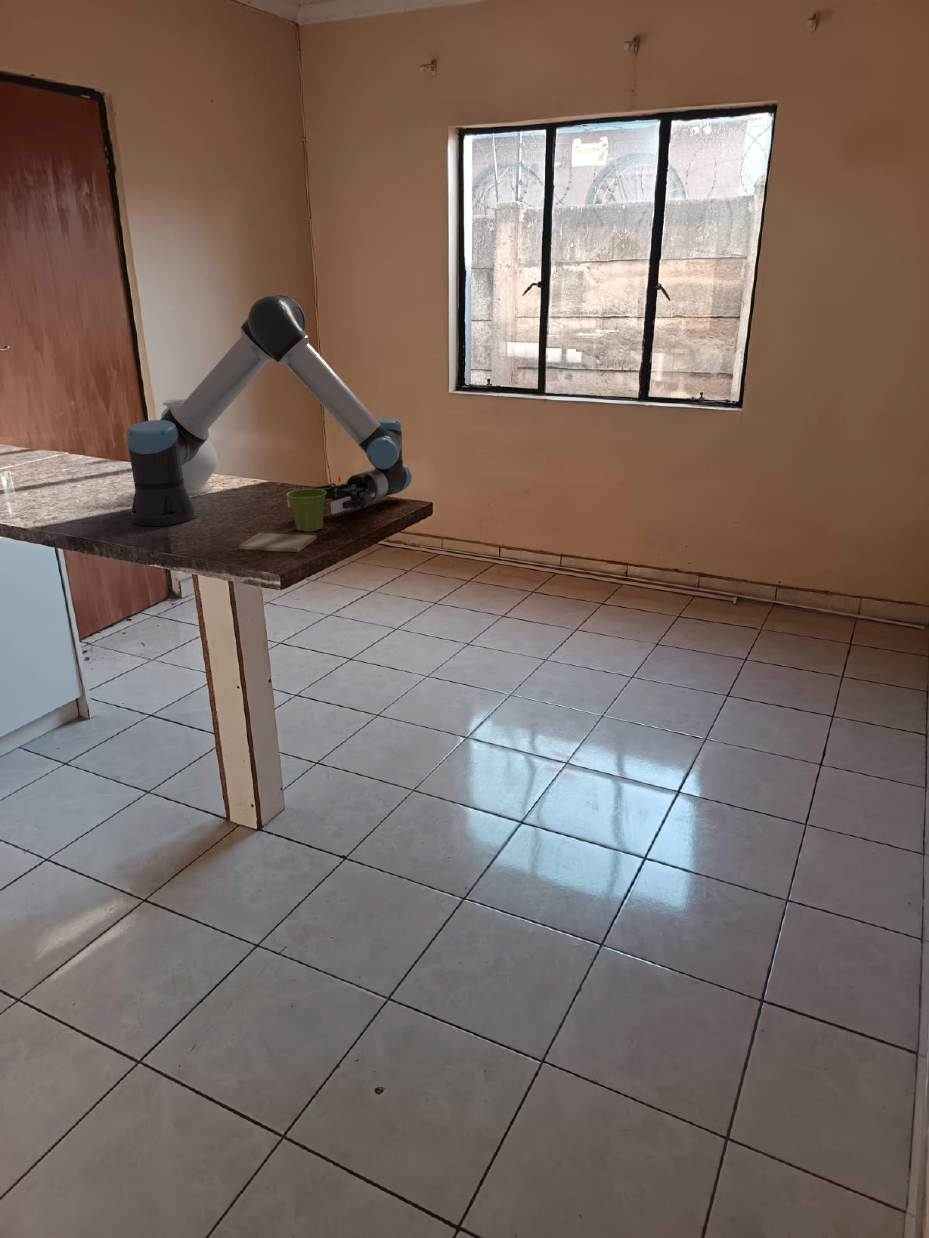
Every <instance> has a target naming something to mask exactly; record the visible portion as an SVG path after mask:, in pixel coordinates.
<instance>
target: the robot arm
mask: <svg viewBox="0 0 929 1238" xmlns="http://www.w3.org/2000/svg"><path fill="white" fill-rule="evenodd" d="M305 330H306V316H305V313H304V311H303V309H302V307H301V305H300V304H299V303H298V302H297V301H295V300H294V299H293V298H291V297H289V296H287V295H282V294H277V295H275V294H274V295H272V296H271V295H268V296H267V295H266V296H264V297H261V298H260V299H258V300H256V301H255V302H254V303H253V305H252V306H251V307H250V310H249V313H248V316H247V319H246V321H244V323H242V325H241V326H240V333H241V334H240V335H241V336H240V337H239V339H238V340H237V341H236V342H235V343H234V345H232V347H231V348H229V350H228V351H227V352H226V353H225V354H224V355H223V357H222V358H221V359H220V360H219V361H218V362H217V364H216V365H214V367H213V368H212V369H211V370H210V372H209V373H208V374H207V375H206V376H205V378H204V379H203V380H202V381H201V382H200V383H199V384H198V386H196V388H195V389H194V390H193V391H192V392H191V393H190V395H189V396H188V397H187V398H186V400H185V402H184V403H183V404H182V405H180V406H172V407H171V408H170V409H169V410H168V411H167V412H166V413H165V415H164V416H163V417H162V418H160V419H153V420H146V421H142V422H137V423H134V424H132V425H131V426H129V428H128V429H127V431H126V445H127V448H128V453H129V454H128V455H129V459H130V460H129V461H130V466H131V473H132V478H133V485H134V497H133V501H132V505H131V506H132V507H131V519H132V522H133V523H134V524H135V525H138V526H144V527H159V526H160V527H161V526H163V527H164V526H171V525H176V524H181V523H186V522H188V521H191V520H193V519H195V517H196V515H197V514H196V508H195V505H194V503H193V501H192V499H191V497H190V496H189V495H188V493H187V491H186V488H185V486H184V479H183V472H182V465H183V464H184V463H186V462H188V461H190V460H191V459H192V458H194V456H195V455H196V454H197V452H198V450H199V448H200V447H201V446H202V445H203V443H204V442H205V441H206V440H207V439H208V440H209V438H210V435H209V429H210V427H211V426H213V424H215V422H216V421H217V420H218V419H219V417H221V415H222V414H223V413H224V412H225V411H226V409H227V408H228V407H229V406H230V405H231V403H232V402H234V400H236V398H237V397H238V396H239V395H240V394H241V393H242V392H243V390H244V389H245V388H246V387H247V386H248V385H249V384H250V382H251V381H253V379H254V378H255V377H256V376H257V375H258V374H259V372H261V371H262V369H264V367H265V366H266V365H267V364H268V363H270V362H277V364H278V365H285V366H286V367H287V368H288V369H289V371H290V372H292V374H293V375H294V376H295V377H296V378H297V380H298V381H300V383H301V384H302V385H303V386H304V387H305V388H306V389H307V390H308V392H310V393H311V394H312V396H313V398H315V399H316V400H317V401H318V403H319V404H320V405H321V406H322V407H323V408H324V409H325V410H326V411H327V412H328V413H329V414H330V415H331V416H332V418H333V419H334V420H335V421H336V422H337V423H338V424H339V425H340V426H341V428H342V429H343V430H344V431H345V432H346V433H347V434H348V436H350V437H351V439H352V440H353V441H354V442H355V443H356V444H357V445H358V446H359V447H360V449H361V450H362V451H363V452H364V453H365V454H366V457H367V459H368V462H369V463H370V464H371V465H372V466H373V467H374V469H373V468H372V469H370V470H366V471H363V472H360V473H357V474H353V475H351V476H350V477H348V479H347V481H346V483H341V484H336V483H333V482H332V483H330V484H325V485H317V486H311V487H310V486H309V487H300V488H299V489H298V490H301V489H322V490H325V491H326V492H327V494H326V495H325V500H326V499H331V500H332V501H331V502H330V513H331V515H334V514H338V513H341V512H344V511H347V510H350V509H352V508H353V509H357V508H358V507H359V508H360V509H365V508H367V506H368V505H369V504H371V503H370V502H373V503H374V502H376V501H377V500H379V499H382V498H385V497H389V496H391V495H395V494H396V495H397V494H399V493H400V492H402V491H405V490H406V489H407V488H409V486H410V485H411V482H412V472H411V471H410V468H409V466H407V465H406V464H405V463H404V462H403V461H404V460H403V438H402V437H403V431H402V423H401V420H399V419H396V418H379V419H377V418H376V417H375V416H374V415H373V413H372V412H371V411H370V410H369V409H368V408H367V407H366V406H365V405H364V404H363V402H362V401H361V400H360V399H359V398H358V396H357V395H356V394H354V392H353V391H352V390H351V389H350V387H349V386H348V385H347V384H346V383H345V382H344V381H343V380H342V379H341V378H340V376H339V375H338V374H337V373H336V372H335V371H334V369H333V368H332V367H330V365H329V364H328V363H327V362H326V361H325V359H324V358H323V357H322V356H321V355H320V353H318V352H317V351H316V349H315V348H314V347H313V346H312V344H311V343H310V340H309V335H308V334H307V333H306V331H305ZM286 501H287V507H288V508H292V507H291V503H290V502H289V499H288V497H287V496H286ZM133 523H132V524H133Z"/></svg>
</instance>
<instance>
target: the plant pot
mask: <svg viewBox="0 0 929 1238" xmlns="http://www.w3.org/2000/svg"><path fill="white" fill-rule="evenodd" d="M326 494H327V492H326V491H325V490H322V489H301V490H299V489H295V490H291V491H289V492H287V493H286V494H285V496H286V498H287V497H288V499H289V502H290V503H291V507H290V508H291V510H292V513H293V514H292V515H293V519H294V522H295V527H296V530H297V531H298V532H300V531H303V533H311V532H316V531H318V530H321V529H323V527H324V526H323V524H324V506H325V505H324V504H325V500H326V499H325V495H326Z"/></svg>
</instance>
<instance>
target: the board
mask: <svg viewBox="0 0 929 1238" xmlns="http://www.w3.org/2000/svg"><path fill="white" fill-rule="evenodd" d="M318 538H320V534H319V532H318V533H317V532H300V531H298V532H297V531H278V530H276V531H275V530H261V531H260V532H258V533H257V534H255V535H253V536H252V537H250V538H248V539H247V540H246V541H244V542H242V543H240V544H239V545H238V550H251V551H252V550H253V551H269V552H270V551H271V552H288V553H289V552H292V553H299V552H300V551H302V550H303V549H305V548H306V547H307V546H309V545H310V544H312V543H313V542H314V541H315V540H317V539H318Z"/></svg>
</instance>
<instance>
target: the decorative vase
mask: <svg viewBox="0 0 929 1238" xmlns="http://www.w3.org/2000/svg"><path fill="white" fill-rule="evenodd" d="M186 399H187V398H186ZM186 399H183V398H182V399H178V398H177V399H168V400H163V401H162V405H163V406H166V408H165V409H164V410H163V412H162V413H161V415H160V416H161V418H162V417H163V416H164V415H165V413H166V412H167V411H168V410H169V409H170V408H171V407H172V406H180V405H182V404H183V403H184V402H185V400H186ZM161 418H160V419H161ZM218 463H219V457H218V452H217V450H216V447H215V446H214V445H213V443H212V442H211V440H210V439H209V438H208V439H207V440H206V441H205V442H204V443H203V445H202V446H201V447H200V448H199V450H198V452H197V454H196V455H195V456H194V458H192V459H191V460H190V461H188V462H186V463H184V464H183V465H182V472H183V479H184V486H185V488H186V491H187V493H188V495H189V497H190V496H197V495H198V496H199V495H202V494H207V493H209V492H211V491H213V486H212V485H210V484H206V483H207V482H208V481H209V479H210V478H211V476H212V475H213V474H214V471H215V470H216V468H217V466H218Z"/></svg>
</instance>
